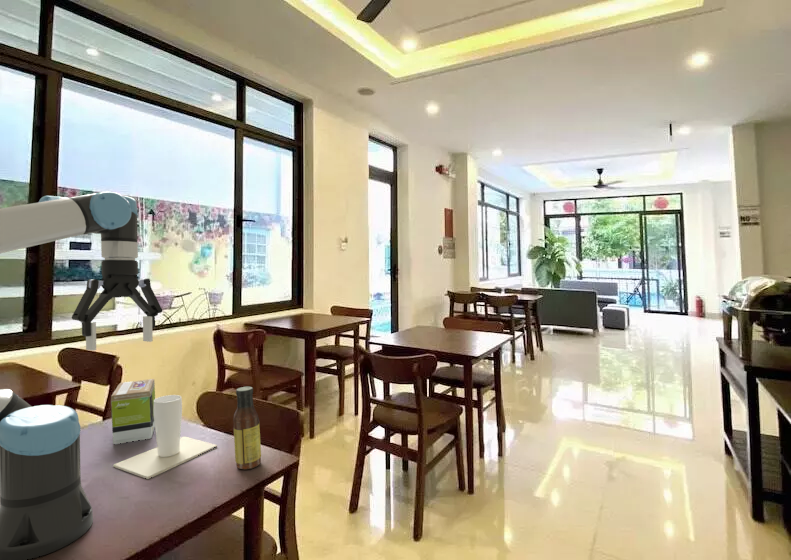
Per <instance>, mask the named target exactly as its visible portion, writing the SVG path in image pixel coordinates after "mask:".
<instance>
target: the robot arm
mask: <svg viewBox="0 0 791 560" xmlns="http://www.w3.org/2000/svg"><path fill="white" fill-rule="evenodd" d="M138 218H139V213H138V206H137V201H136V199H135V198H134V197H132V196H127V195H123V194H122V195H121V194H120V193H118V192H116V191H115V192H113V191H98V192H96V193H91V194H90V193H89V194H84V195H77V196H72V197H64V196H60V195H57V196H56V195H55V196H54V195H44V196H42V197H41V198H40V199H39V201H38V202H33V203H28V204H20V205H14V206H13V205H12V206H8V207H1V208H0V254H4V253H8V252H14V251H17V250H21V249H25V248H26V249H27V248H31V247H35V246H38V245H43V244H47V243H52V242H56V241H60V240H64V239H68V238H73V237H78V236H83V235H87V234H96V235H97V234H100V241H101V242H100V243H101V244H100V245H101V246H100V247H101V251H100V252H101V258H103V260H102V261H101V263H100V264H101V277H102V278H101V280H98V279H94V278H93V279H90V278H89V279H88V280H86V289H85V291H84V293H83V294H82V297H81V298H80V300H79V302H78V304H77V306H76V308H75V309H74V312H73V313H72V316H71V320H73V321H78V322H80V323H81V334H82V337H85V350H87V351H96V350H97V322H96V321H93V320H94V319H95V318H96V317H97V315H99V313H100V312H101V311H102V309H103V308H104V307H105V306H106V305H107V304H108V302H109V301H110V300H112V299H113V298H130V299H131V300H132V301H133V302H134V304H136V305H137V306H138V308H140V310H141V311H142V312H143V313H144V314H145V315H143V316H142V339H143V340H142V341H143V342H147V343H148V342H149V343H151V342H153V341H154V340H153V329H155V327H156V317H157V316H158V315H159V314H161V313H162V312H163V309H162V306H161V304H160V302H159V301H158V298H157V296H156V294H155V293H154V291H153V288H152V287H151V279H150V278H140V279H138V274H139V262H138V261H137V260H136V259H138V258H139V251H138V250H139V248H138V247H139V246H138V245H139V244H138ZM101 287H102V289H103V290H102V291H101V292H100V294H99V295H98V297H97V299H96V300H95V301H94V302H93V300H94V299H95V296H96V295H97V293H98V290H99V289H100V288H101ZM138 287H140V290H141V292H142V294H143V296H144V297H143V296H142V295H141V293H140V292H139V290H138V289H137V288H138ZM145 299H146V300H145ZM92 302H93V303H92ZM81 479H82V477H81V424H80V419H79V414H78V412H77V411H76V410H75V409H73V408H72V407H70V406H67V405H61V404H57V405H56V404H55V405H53V404H40V405H34V406H32V405H31V404H29V403H28V402H27V401H25V400H24V399H23V398H21V396H20V395H18V394H16V393H15V392H14V391H12V389H10V388H1V389H0V560H27V559H29V560H32V558H33V559H36V558H39V556H40V557H42V556H45V555H48V554H51V553H54V552H55V551H58V550H60V549H63V548H64V547H66V546H68V545H70V544H71V543H73V542H75V541H76V540H78V539H79V538H80V537H82V536H83V535H84V534H85V533H87V532H88V531H89V529H90V528H91V526H92V525H93V522H94V514H93V507H92V505H91V502H90V501H89V499H88V497H87V495H86V492H85V491H84V488H83V486H82V483H81V482H82V481H81Z"/></svg>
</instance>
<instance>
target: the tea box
mask: <svg viewBox="0 0 791 560" xmlns="http://www.w3.org/2000/svg"><path fill="white" fill-rule="evenodd" d="M155 385H156V383H155V378H150V379H143V380H133V381H123V382H120V383H119V384H118V385H117V387H116V388H115V390H114V391H113V392H112V394H111V396H110V405H111V424H112V425H111V429H112V445H114V444H115V445H121V444H127V443H126V442H128V443H133V442H132V441H134V442H139V441H138V440H140V441H145V439H146V440H150V439H152V438H153V434H154V431H155V424H154V415H153V402H154V400H155V399H156V391H155V390H156V388H155ZM120 443H121V444H120Z"/></svg>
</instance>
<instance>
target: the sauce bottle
mask: <svg viewBox="0 0 791 560" xmlns="http://www.w3.org/2000/svg"><path fill="white" fill-rule="evenodd" d="M253 393H254V388H253V387H252V386H243V387H242V386H241V387H238V388H236V390H235V394H236V401H237V404H236V407H237V408H236V409H235V412H234V414H233V419H232V420H233V440H234V458H235V459H234V461H235V465H236V467H237V469H240V470H245V471H247V470H251V469H255V468H257V467H258V466H260V464H261V462H262V460H261V457H262V450H261V449H262V448H261V433H260V432H261V430H260V418H259V415H258V414H259V413H258V412H257V411H256V408H255V406H254V397H253V395H254V394H253Z"/></svg>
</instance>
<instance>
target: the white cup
mask: <svg viewBox="0 0 791 560" xmlns="http://www.w3.org/2000/svg"><path fill="white" fill-rule="evenodd" d="M153 415H154V424H155V428H154V431H155V439H156V440H155V441H156V447H157V454H158V456H160V457H170V456H173V455H176V454H177V453H178V452H179V451H180V438H181V432H182V419H183V418H182V415H183V399H182V395H179V394H169V395H168V394H167V395H162V396H159V397H155V400H154V402H153Z"/></svg>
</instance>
